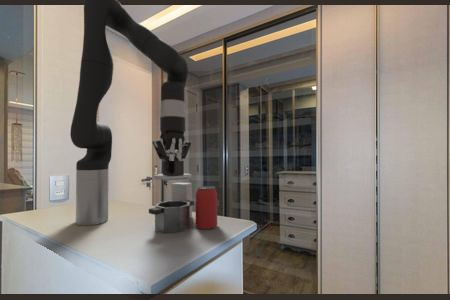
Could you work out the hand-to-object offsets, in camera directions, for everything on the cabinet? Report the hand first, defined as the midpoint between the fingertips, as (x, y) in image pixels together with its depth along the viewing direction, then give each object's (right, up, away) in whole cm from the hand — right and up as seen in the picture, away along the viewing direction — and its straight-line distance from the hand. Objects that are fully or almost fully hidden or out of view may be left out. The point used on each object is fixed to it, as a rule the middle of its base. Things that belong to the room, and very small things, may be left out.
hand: (172, 173), depth 69 cm
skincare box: (+1, -17, +11) cm, 20 cm away
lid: (0, -1, 0) cm, 1 cm away
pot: (0, -16, 0) cm, 16 cm away
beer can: (+10, -17, 0) cm, 19 cm away
